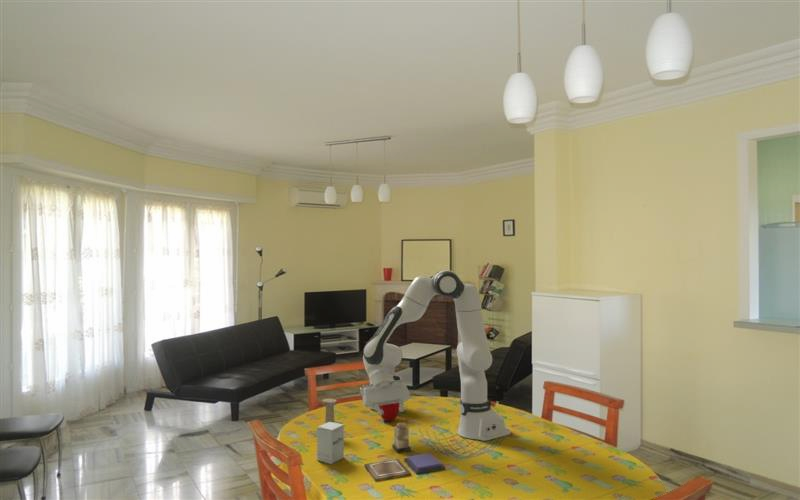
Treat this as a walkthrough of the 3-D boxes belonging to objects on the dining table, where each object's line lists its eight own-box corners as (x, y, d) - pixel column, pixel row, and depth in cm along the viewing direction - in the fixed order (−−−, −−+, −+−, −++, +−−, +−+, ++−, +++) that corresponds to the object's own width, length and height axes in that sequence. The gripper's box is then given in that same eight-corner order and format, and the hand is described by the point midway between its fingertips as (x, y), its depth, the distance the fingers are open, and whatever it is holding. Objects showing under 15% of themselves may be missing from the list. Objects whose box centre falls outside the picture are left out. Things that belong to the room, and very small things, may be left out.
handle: (332, 439, 212) (331, 403, 212) (320, 436, 215) (320, 400, 215) (339, 435, 216) (339, 400, 216) (327, 432, 219) (327, 397, 219)
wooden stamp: (405, 446, 204) (405, 421, 204) (410, 451, 198) (410, 425, 198) (392, 448, 202) (392, 422, 202) (397, 453, 196) (396, 427, 196)
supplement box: (331, 464, 186) (331, 430, 186) (316, 460, 190) (316, 426, 190) (344, 457, 192) (344, 424, 193) (329, 453, 196) (329, 420, 196)
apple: (387, 425, 228) (387, 400, 228) (374, 420, 236) (374, 396, 236) (404, 420, 235) (403, 396, 235) (390, 415, 242) (390, 392, 242)
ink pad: (431, 456, 192) (431, 451, 192) (445, 469, 181) (445, 464, 181) (404, 461, 189) (404, 456, 189) (416, 474, 177) (416, 468, 177)
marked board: (398, 460, 189) (398, 458, 189) (411, 475, 177) (411, 472, 177) (364, 466, 184) (364, 463, 184) (375, 481, 172) (375, 478, 172)
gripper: (360, 382, 209) (371, 412, 200) (404, 376, 218) (416, 404, 210) (356, 390, 213) (366, 420, 204) (399, 384, 222) (411, 412, 214)
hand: (392, 412), depth 207 cm, fingers open, 8 cm apart
